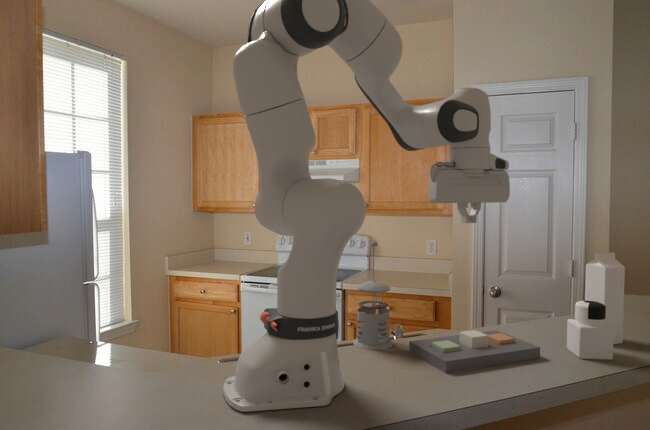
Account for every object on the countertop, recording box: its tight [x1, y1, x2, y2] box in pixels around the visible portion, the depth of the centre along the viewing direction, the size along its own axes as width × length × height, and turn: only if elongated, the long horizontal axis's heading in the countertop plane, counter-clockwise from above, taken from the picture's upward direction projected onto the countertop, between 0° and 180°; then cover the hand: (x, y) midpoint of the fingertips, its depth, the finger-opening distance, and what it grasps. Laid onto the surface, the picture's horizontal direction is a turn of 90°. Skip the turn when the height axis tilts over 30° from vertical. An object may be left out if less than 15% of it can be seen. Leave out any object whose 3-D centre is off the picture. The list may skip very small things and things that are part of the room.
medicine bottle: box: [566, 300, 614, 361], centre depth 107 cm, size 7×7×12 cm
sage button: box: [432, 340, 460, 353], centre depth 104 cm, size 4×4×3 cm
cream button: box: [459, 329, 488, 349], centre depth 107 cm, size 4×4×3 cm
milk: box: [584, 252, 626, 345], centre depth 117 cm, size 6×6×22 cm
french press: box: [352, 240, 394, 351], centre depth 115 cm, size 10×12×25 cm
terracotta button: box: [488, 333, 514, 345], centre depth 109 cm, size 4×4×3 cm
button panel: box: [408, 330, 541, 374], centre depth 107 cm, size 25×14×2 cm, turn 111°
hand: (469, 223), depth 108 cm, fingers closed
